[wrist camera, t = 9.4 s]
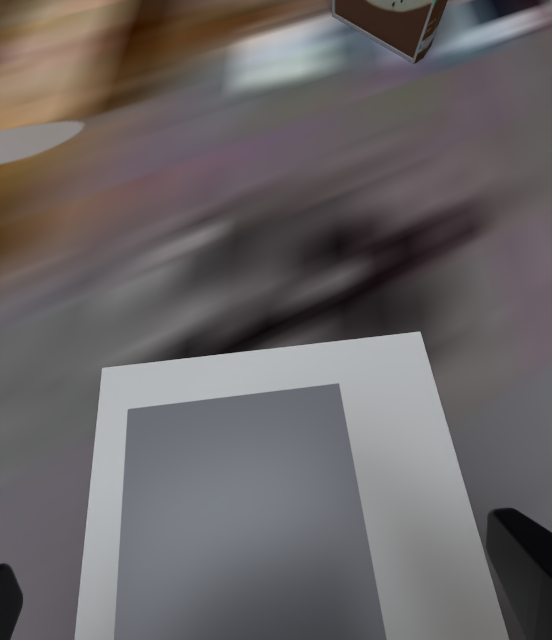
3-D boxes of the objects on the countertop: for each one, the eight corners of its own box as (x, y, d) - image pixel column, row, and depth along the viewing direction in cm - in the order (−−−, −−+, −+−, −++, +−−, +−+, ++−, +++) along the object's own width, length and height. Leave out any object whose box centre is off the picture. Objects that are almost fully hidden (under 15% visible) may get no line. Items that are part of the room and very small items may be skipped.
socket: (542, 836, 13) (581, 887, 11) (79, 883, 13) (43, 943, 11) (409, 348, 20) (420, 331, 19) (119, 381, 20) (102, 368, 19)
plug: (331, 563, 16) (388, 652, 6) (235, 575, 16) (111, 685, 6) (317, 462, 18) (338, 382, 7) (230, 472, 18) (127, 409, 7)
